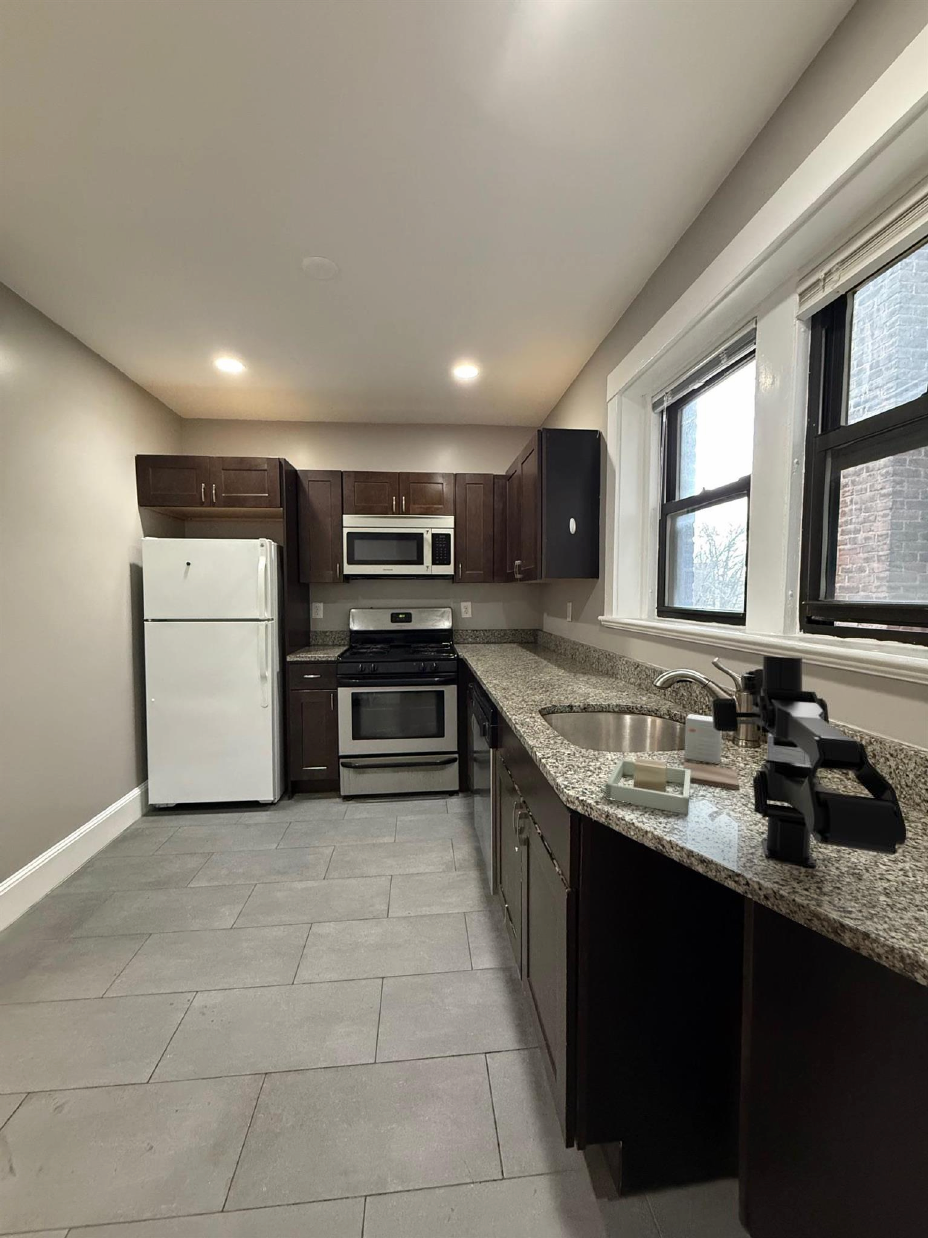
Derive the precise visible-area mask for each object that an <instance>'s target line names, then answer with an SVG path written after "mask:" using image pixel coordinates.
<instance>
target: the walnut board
mask: <svg viewBox="0 0 928 1238" xmlns="http://www.w3.org/2000/svg"><path fill="white" fill-rule="evenodd" d="M683 762H684V763H683V769H689V770H691V775H690V783H695V784H701V785H702V784H703V785H707V786H708V785H709V786H713V787H714V786H715V787H719V788H724V789H725V788H726V789H732V790H740V780H739V776H738V772H737V769H735V768H727V767H719V766H714V765H708V764H707V765H706V764H699V763H694V762H693V763H692V762H686V761H683Z"/></svg>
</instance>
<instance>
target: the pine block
mask: <svg viewBox="0 0 928 1238" xmlns="http://www.w3.org/2000/svg"><path fill="white" fill-rule="evenodd" d="M634 761H635V764H634V776H633V787H635V788H641V789H647V790H653V791H658V792H664V793H667V781H666V777H667V766H668V762H667V761H663V760H662V761H661V760H654V759H649V758H643V757H636V759H635V760H634Z"/></svg>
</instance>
